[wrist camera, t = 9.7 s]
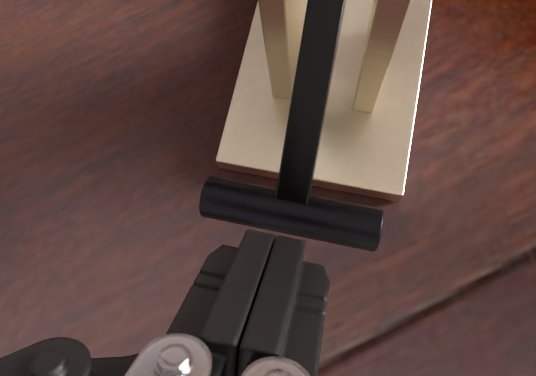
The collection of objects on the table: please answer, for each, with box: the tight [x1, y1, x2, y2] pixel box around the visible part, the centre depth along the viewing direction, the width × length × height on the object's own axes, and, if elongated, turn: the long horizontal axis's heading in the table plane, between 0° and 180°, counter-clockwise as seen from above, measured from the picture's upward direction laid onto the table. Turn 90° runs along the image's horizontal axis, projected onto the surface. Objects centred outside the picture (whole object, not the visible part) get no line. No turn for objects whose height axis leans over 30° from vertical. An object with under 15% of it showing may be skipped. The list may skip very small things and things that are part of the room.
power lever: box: [199, 0, 384, 251], centre depth 14 cm, size 12×6×2 cm, turn 168°
